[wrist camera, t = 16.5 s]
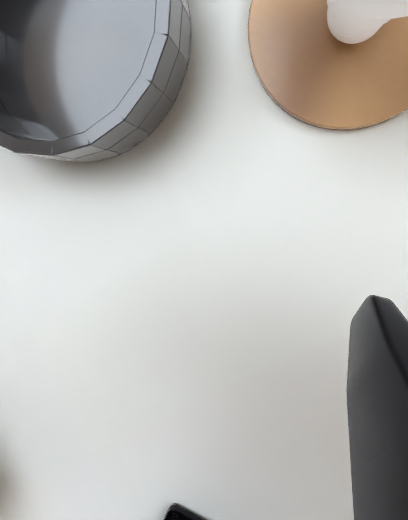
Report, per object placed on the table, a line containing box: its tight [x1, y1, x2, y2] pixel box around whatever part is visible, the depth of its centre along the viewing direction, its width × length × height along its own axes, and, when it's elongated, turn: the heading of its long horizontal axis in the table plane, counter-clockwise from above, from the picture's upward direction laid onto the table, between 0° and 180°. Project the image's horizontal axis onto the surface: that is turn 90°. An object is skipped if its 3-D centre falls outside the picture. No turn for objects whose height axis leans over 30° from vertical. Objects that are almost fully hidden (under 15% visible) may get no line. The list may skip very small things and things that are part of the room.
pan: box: [0, 0, 191, 162], centre depth 18 cm, size 13×13×4 cm
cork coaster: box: [248, 0, 408, 130], centre depth 17 cm, size 10×10×1 cm
